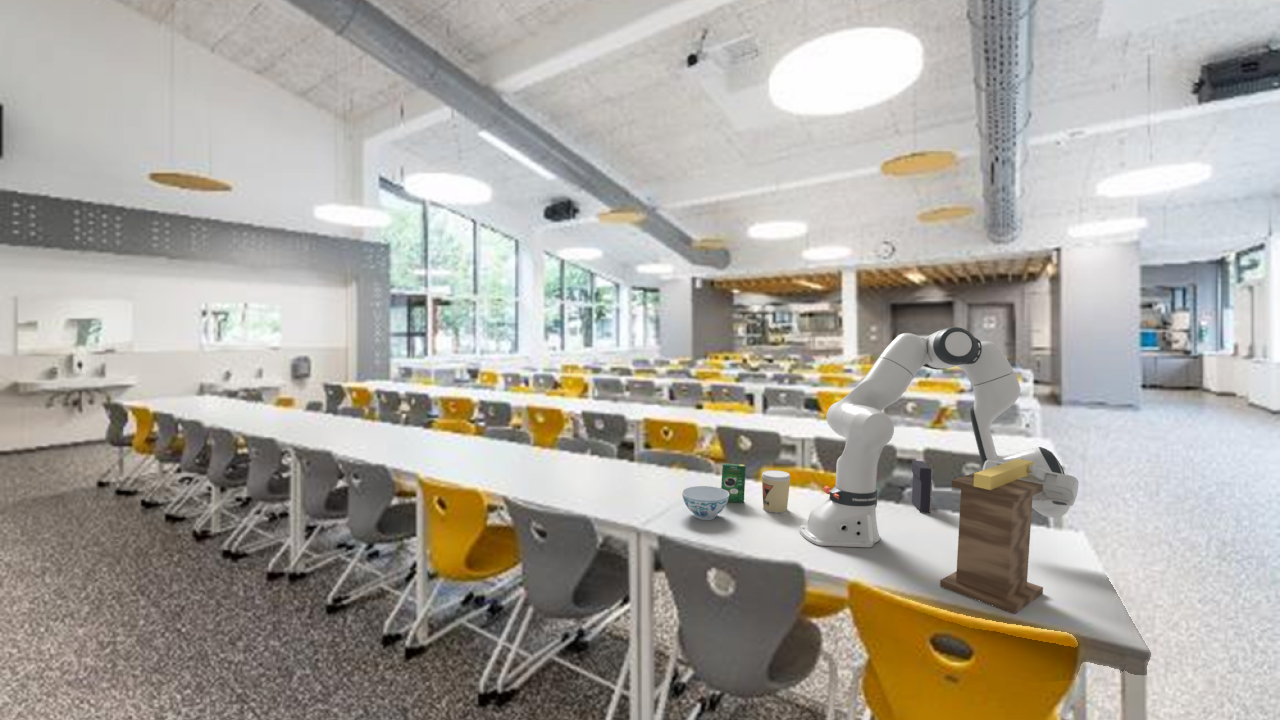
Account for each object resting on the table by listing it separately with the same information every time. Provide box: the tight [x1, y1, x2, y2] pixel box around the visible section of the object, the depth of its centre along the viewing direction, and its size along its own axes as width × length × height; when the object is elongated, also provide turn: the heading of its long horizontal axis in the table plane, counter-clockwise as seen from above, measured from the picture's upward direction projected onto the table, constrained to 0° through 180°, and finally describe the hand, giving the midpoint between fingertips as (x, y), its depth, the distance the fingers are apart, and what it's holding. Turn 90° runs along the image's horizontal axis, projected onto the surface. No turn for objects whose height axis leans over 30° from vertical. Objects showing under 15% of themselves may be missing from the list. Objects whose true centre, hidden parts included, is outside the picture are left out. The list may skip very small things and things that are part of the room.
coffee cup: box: [761, 469, 791, 514], centre depth 195 cm, size 9×9×12 cm
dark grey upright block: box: [910, 460, 933, 514], centre depth 197 cm, size 11×4×15 cm, turn 168°
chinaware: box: [681, 485, 729, 521], centre depth 187 cm, size 15×15×8 cm
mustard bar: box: [973, 459, 1033, 490], centre depth 139 cm, size 24×4×3 cm, turn 127°
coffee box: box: [720, 463, 747, 504], centre depth 202 cm, size 8×3×13 cm, turn 85°
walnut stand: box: [939, 470, 1044, 615], centre depth 137 cm, size 16×16×26 cm
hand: (1019, 466), depth 143 cm, fingers closed on mustard bar, 3 cm apart
